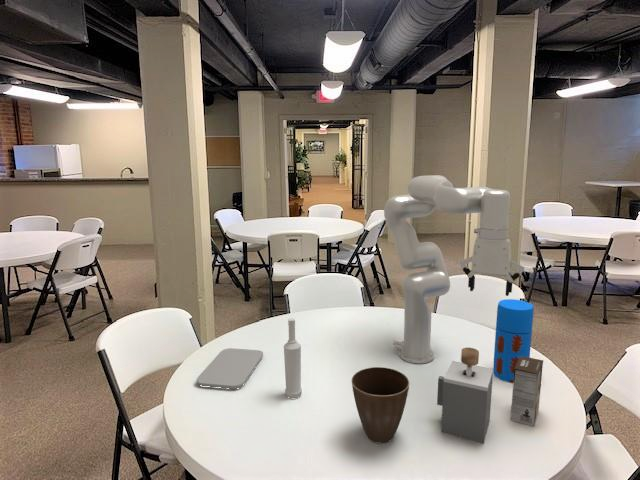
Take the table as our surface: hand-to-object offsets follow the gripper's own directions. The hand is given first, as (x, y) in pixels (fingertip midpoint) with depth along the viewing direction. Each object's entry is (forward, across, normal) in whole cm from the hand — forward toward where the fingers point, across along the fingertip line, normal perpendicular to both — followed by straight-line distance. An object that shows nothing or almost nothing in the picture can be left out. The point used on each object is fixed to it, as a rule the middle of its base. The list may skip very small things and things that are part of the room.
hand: (489, 292), depth 131 cm
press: (+34, -3, -16) cm, 38 cm away
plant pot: (+34, -22, -30) cm, 51 cm away
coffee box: (+34, +12, -3) cm, 37 cm away
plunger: (+31, -2, -16) cm, 35 cm away
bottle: (+34, -53, -23) cm, 67 cm away
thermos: (+34, +6, +20) cm, 40 cm away
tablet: (+35, -80, -19) cm, 90 cm away
